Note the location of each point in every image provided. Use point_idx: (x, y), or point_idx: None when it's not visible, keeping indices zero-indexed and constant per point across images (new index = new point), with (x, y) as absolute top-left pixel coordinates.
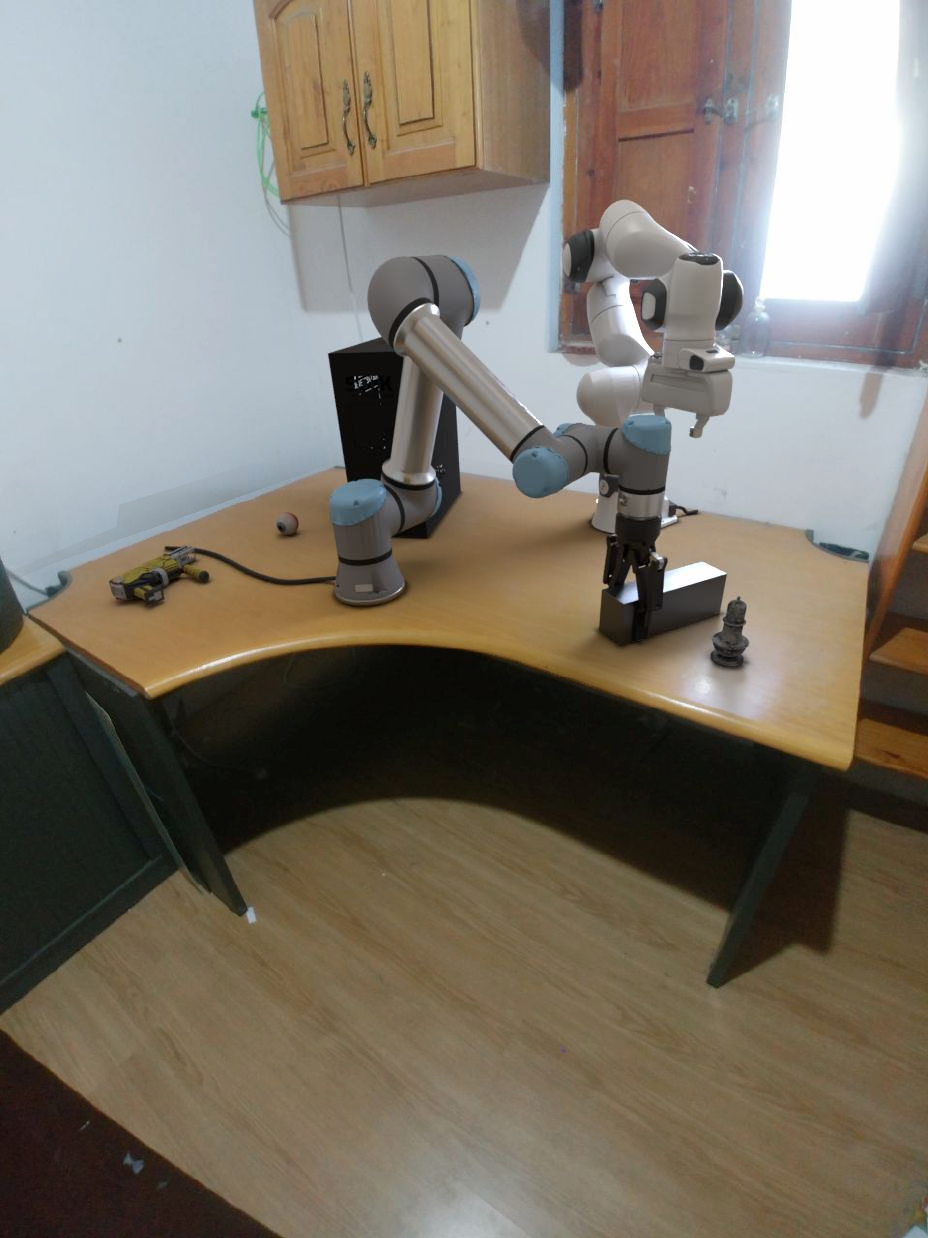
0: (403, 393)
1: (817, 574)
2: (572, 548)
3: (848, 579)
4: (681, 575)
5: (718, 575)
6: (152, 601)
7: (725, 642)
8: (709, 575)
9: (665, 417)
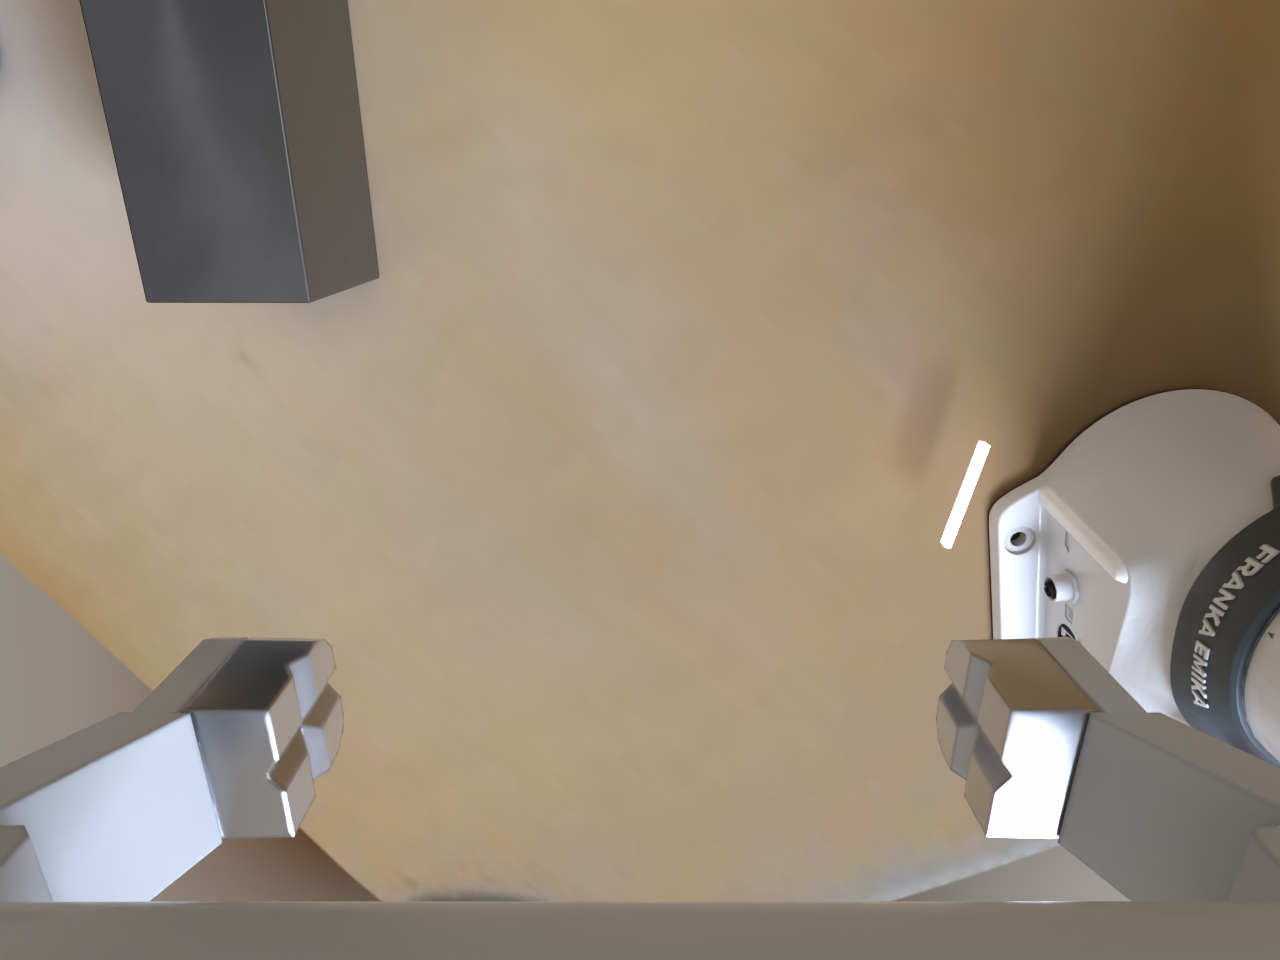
0: None
1: (374, 763)
2: (1108, 134)
3: None
4: (197, 82)
5: (140, 251)
6: None
7: None
8: (154, 213)
9: (1065, 847)
